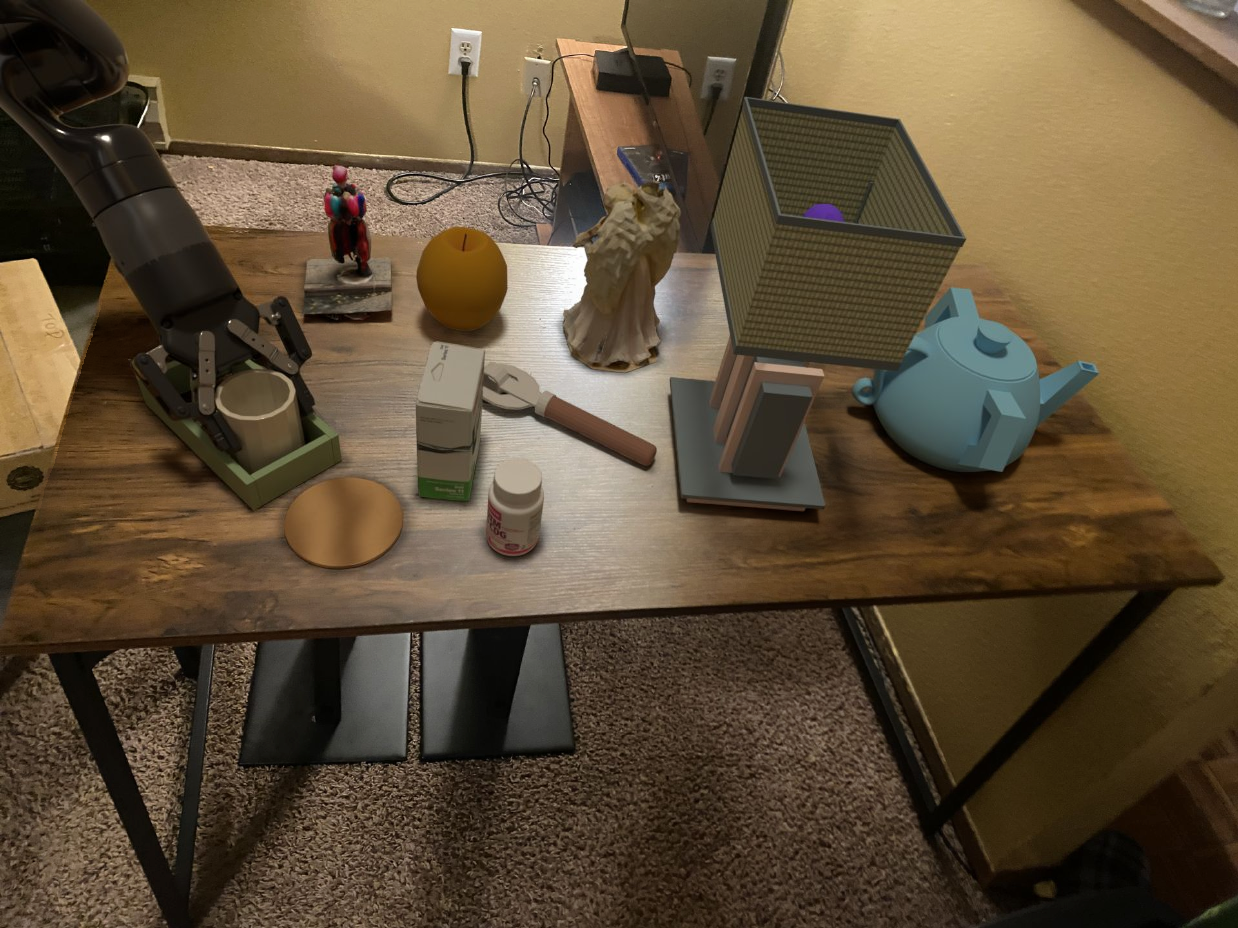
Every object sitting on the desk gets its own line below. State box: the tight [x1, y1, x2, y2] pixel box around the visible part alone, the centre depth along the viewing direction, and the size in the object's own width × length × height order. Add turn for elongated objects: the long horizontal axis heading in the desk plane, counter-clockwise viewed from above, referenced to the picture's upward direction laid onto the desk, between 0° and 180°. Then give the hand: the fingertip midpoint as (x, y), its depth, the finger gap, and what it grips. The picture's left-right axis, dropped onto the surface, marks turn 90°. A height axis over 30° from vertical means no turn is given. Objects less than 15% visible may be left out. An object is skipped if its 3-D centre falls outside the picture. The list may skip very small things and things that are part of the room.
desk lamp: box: [669, 96, 967, 512], centre depth 75 cm, size 18×14×33 cm
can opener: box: [482, 361, 658, 467], centre depth 86 cm, size 20×6×3 cm, turn 68°
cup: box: [214, 368, 306, 475], centre depth 75 cm, size 6×6×8 cm
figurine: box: [562, 180, 682, 374], centre depth 90 cm, size 12×12×20 cm
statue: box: [301, 164, 393, 321], centre depth 91 cm, size 11×9×15 cm
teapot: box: [851, 286, 1100, 473], centre depth 91 cm, size 19×19×14 cm
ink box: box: [415, 341, 486, 502], centre depth 76 cm, size 9×5×12 cm, turn 179°
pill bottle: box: [485, 457, 545, 557], centre depth 72 cm, size 5×5×8 cm
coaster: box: [283, 476, 404, 570], centre depth 74 cm, size 10×10×1 cm
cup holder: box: [136, 360, 343, 511], centre depth 78 cm, size 18×9×4 cm, turn 49°
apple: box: [415, 226, 509, 331], centre depth 91 cm, size 10×10×12 cm
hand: (272, 433), depth 74 cm, fingers closed on cup, 6 cm apart
